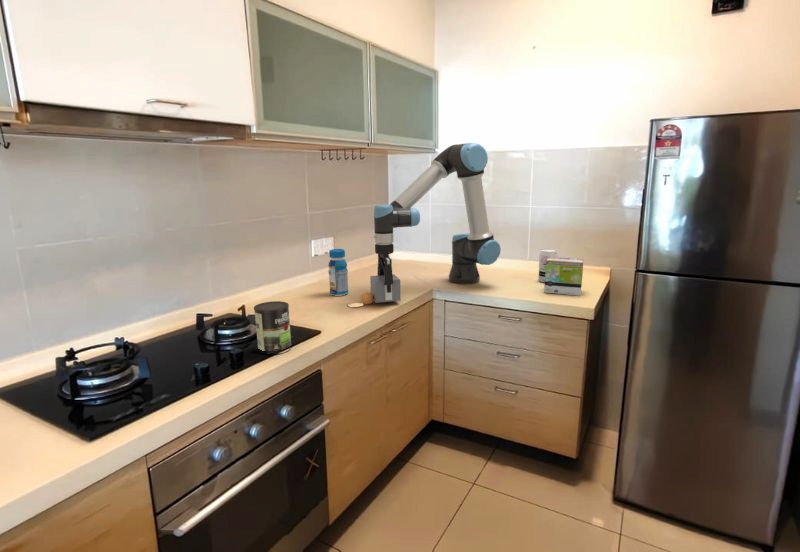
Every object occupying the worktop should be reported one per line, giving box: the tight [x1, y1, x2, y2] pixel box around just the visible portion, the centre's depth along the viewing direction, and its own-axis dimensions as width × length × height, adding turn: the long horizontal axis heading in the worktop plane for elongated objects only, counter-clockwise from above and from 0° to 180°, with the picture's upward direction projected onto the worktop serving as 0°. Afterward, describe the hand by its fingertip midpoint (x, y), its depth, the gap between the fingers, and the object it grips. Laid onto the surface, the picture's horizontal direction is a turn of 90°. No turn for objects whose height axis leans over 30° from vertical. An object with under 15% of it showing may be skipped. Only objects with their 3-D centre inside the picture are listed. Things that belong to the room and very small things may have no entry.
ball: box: [360, 291, 374, 305], centre depth 189 cm, size 5×5×5 cm
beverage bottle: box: [327, 248, 349, 297], centre depth 204 cm, size 8×8×20 cm
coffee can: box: [253, 300, 292, 351], centre depth 142 cm, size 10×10×14 cm
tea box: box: [543, 256, 584, 297], centre depth 200 cm, size 15×10×15 cm, turn 68°
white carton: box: [537, 248, 559, 284], centre depth 219 cm, size 8×8×15 cm
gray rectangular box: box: [369, 273, 402, 304], centre depth 190 cm, size 10×10×9 cm
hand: (385, 296), depth 191 cm, fingers closed on gray rectangular box, 10 cm apart
